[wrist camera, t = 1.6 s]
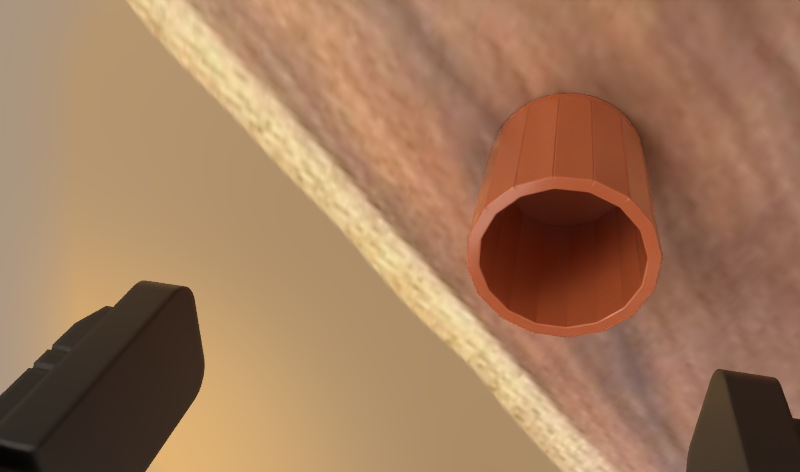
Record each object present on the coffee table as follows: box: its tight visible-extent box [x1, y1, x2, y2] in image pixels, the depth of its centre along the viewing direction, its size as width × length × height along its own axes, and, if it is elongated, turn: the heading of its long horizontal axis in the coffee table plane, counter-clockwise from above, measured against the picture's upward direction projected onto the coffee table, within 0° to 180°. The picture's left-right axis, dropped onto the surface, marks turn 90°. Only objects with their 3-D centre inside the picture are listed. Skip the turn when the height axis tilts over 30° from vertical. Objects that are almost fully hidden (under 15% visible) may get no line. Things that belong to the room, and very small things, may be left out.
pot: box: [466, 93, 663, 337], centre depth 26 cm, size 6×6×8 cm
